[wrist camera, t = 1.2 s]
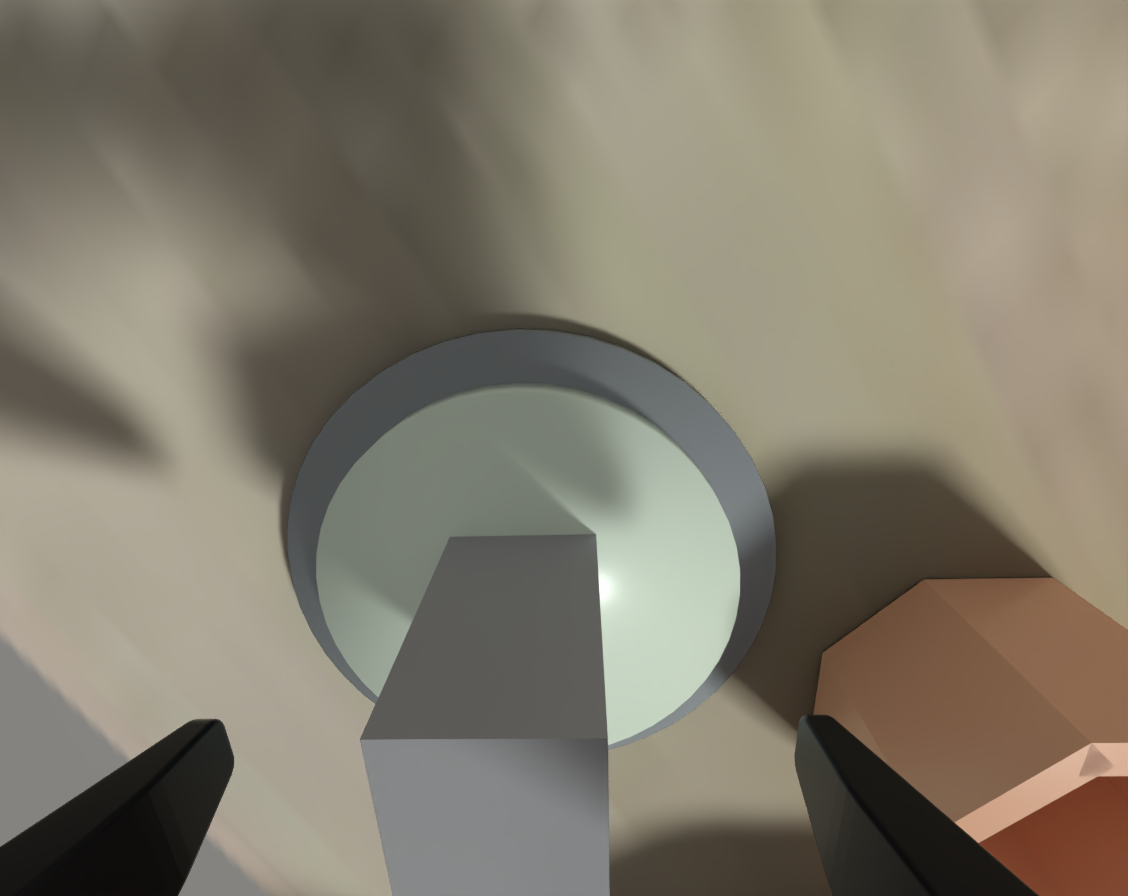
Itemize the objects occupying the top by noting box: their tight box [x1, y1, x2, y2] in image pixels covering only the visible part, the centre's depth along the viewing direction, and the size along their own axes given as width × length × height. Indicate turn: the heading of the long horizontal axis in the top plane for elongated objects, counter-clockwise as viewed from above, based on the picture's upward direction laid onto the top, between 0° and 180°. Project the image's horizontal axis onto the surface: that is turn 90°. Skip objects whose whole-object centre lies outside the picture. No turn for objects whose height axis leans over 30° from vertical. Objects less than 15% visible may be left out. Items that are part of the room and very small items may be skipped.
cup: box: [813, 578, 1128, 896], centre depth 12 cm, size 7×7×4 cm
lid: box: [316, 382, 740, 896], centre depth 10 cm, size 9×9×6 cm
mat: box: [287, 329, 777, 750], centre depth 13 cm, size 11×11×1 cm
